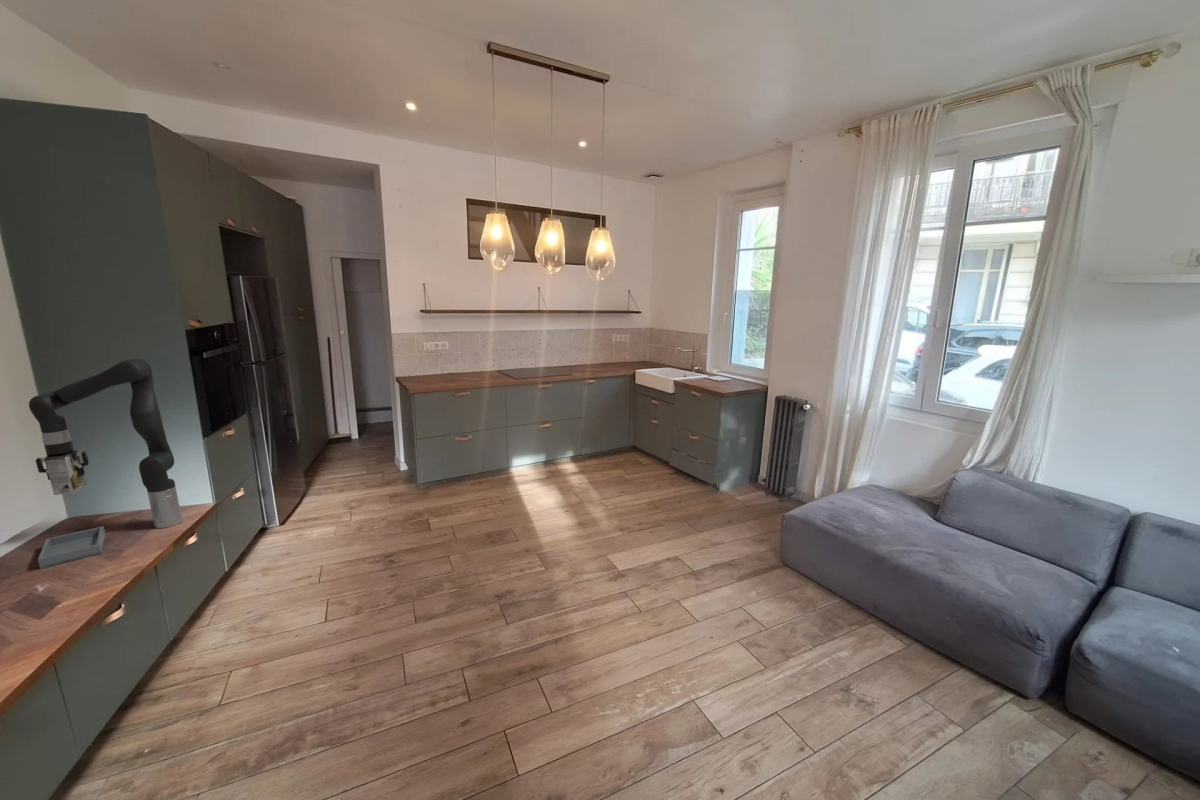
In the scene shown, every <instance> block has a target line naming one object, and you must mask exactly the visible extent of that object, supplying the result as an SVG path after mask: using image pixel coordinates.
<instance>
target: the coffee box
mask: <svg viewBox="0 0 1200 800" xmlns="http://www.w3.org/2000/svg"><path fill="white" fill-rule="evenodd" d="M74 451H75V452H76V453H78V452H79V451H78V450H74ZM44 460H45V461H44V463H45V467H46V469H47V471H48V474H49V478H50V480H49V481H50V485H51V488H52V491H53V495H54V496H58V495H59V496H60V495H69V494H75V493H76V492H78V491H79V490H81V489H82V488H84V487H86V486H87V482H86V478H85V473H84V474H83V476H80V475H79V471H78V467H77V466H75V465H73V461H72V460H74V461H79V462H80V463H81V460H80V457H79V455H76V457H75V458H74V459H73V457H72V454H67V455H58V456H52V457H47V458H45V459H44Z"/></svg>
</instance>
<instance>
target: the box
mask: <svg viewBox="0 0 1200 800" xmlns="http://www.w3.org/2000/svg"><path fill="white" fill-rule="evenodd" d="M105 540H106V530H105V527H104V526H98V527H94V528H93V527H92V528H90V529H86V530H85V529H84V530H80V531H76V532H71V533H67V534H66V533H65V534H63V535H57V536H53V537H49V538H46V539H45V542H44V544H43V546H42V549H41V551H40V553H39V555H38V559H37V562H38V565H39V569H40V570H41V569H46V568H50V567H54V566H55V567H56V566H58V565H61V564H67V563H70V562H71V563H72V562H74V561H79V560H81V559H82V560H83V559H85V558H86V559H87V558H90V557H94V556H98V555H102V554H103V550H104V544H105Z"/></svg>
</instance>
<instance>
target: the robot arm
mask: <svg viewBox="0 0 1200 800" xmlns="http://www.w3.org/2000/svg"><path fill="white" fill-rule="evenodd" d="M152 370H153V369H152V367H151V365H150V364H149V362H147V360H144V359H142V358H137V357H136V358H130V359H125V360H121V361H119V362H118V363H116V364H115V365H113V366H112V367H110V368H108V369H105V370H104V371H102V372H100V373H98V374H96V375H92V376H90V377H87V378H83V379H80V380H78V381H75V382H74V381H73V382H72V383H69V384H67V385H64V386H61V387H60V388H59V389H56V390H53V391H50V392H48V393H43V394H39V395H36V396H33V397H31V399H30V400H29V403H28V408H29V410H30V412H31V414H32V415H33V416H34V419H36V420H37V421H36V422H38V424H39V427H40V432H41V438H42V443H43V447H44V449H45V454H46V456H45V457H37V458H36V459H35V463H36V467H37V470H38V473H40V474H41V473H42V474H43V473H45V474H46V476H47V480H48V481H50V478H49V474H48V471H47V468H45V467H44V463H45V460H44V459H45V458H47V457H52V456H58V455H67V454H72V457H73V459H74V458H75V457H76V455H79V458H82V461H83V462H81V461H80V462H79V461H74V460H72V461H73V465H75V466H77V467H78V471H79V475H80V476H83V474H84V475H85V468H84V467H86V466H88V465H89V463H90V461H89V457H88V454H87V451H86V450H82V451H80V452H79V451H77V452H78V453H76V452H75V451H76V450H75V449H74V444H73V441H72V437H71V434H70V432H69V428H68V426H67V421H66V418H65V417H64V416H61V415H57V412H56V410H59V409H62V408H63V407H66V406H68V405H71V404H72V403H75V402H79V401H81V400H83V399H86V398H89V397H91V396H94V395H95V394H98V393H100V392H102V391H104V390H106V389H109V388H111V387H114V386H119V385H122V384H123V385H124V384H128V383H129V384H130V388H131V394H132V395H131V401H130V406H129V415H130V419H131V423H132V426H133V428H134V430H135V431H136V433H137V434H138V435H139V436H140V437H141V438H142V439H143V440H144V441H145V443H146V447H147V449H148V456H146V457H145V458H142V460H140V461H139V465H138V469H139V470H138V471H139V474H140V478H141V482H142V485H143V486H144V487H145V488H146V490H147V491H146V492H147V497H148V501H149V505H150V507H149V508H150V511H151V515H152V516H151V517H152V520H153V525H154V528H156V529H164V528H170V527H173V526H176V525H178V524H182V523H183V517H182V512H181V506H180V502H179V497H178V493H177V488H176V481H175V480H174V479H172V478H169V476H168V473H167V472H168V471H169V470H171V469H172V468H173V467H174V465H175V456H174V455H173V452H172V450H171V447H170V445H169V443H168V440H167V439H168V438H167V435H166V431H165V428H164V424H163V419H162V414H161V411H160V408H159V403H158V399H157V396H156V392H155V389H154V388H155V386H154V380H153V371H152Z"/></svg>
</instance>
